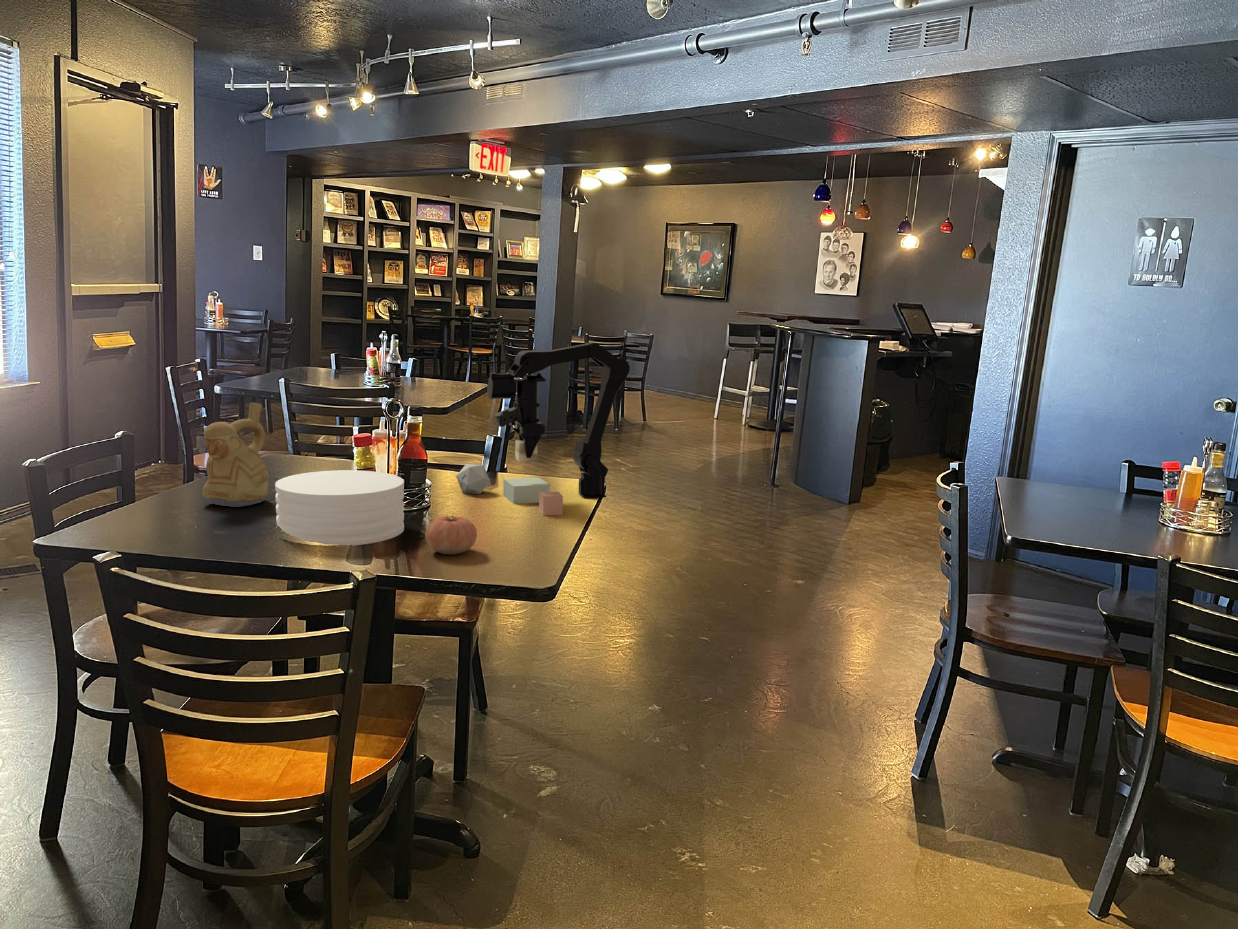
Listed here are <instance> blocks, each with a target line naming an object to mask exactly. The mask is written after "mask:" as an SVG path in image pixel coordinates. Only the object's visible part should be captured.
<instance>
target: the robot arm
mask: <svg viewBox="0 0 1238 929" xmlns="http://www.w3.org/2000/svg"><path fill="white" fill-rule="evenodd" d="M585 359H586V360H587V359H591V360H592V361H593V363H595V364H596V365H597V366H599V367H600V368H601V371H600V389H599V392H598V395H597V399H596V402H595V404H594V408H593V410H592V414H591V417H590V421H589V424H588V427H587V430H586V433H585V435H584V437H582V439H578V438H576V440H575V446H574V448H573V450H572V451H571V453H572V454H573V455H572V459H573V462H574V463H575V464H576V466H578V468H579V471H580V478H578V494H579V495H580V496H581V497H582V498H584V499H587V498H589V499H591V498H592V499H593V498H595V499H596V498H597V499H598V498H607V494H605V492H606V491H605V490H606V489H605V487H606V476H607V475H608V472H609V469H608V467H606V465H605V464H604V463H603V462H602V461H601V459H602V455H603V454H602V452H603V450H602V449H603V447H602V439H603V435H604V433H605V429H606V427H607V425H608V421H609V418H610V414H611V412H612V409H613V408H612V407H613V404H614V402H615V398H616V395H617V392H618V391H619V390H620V388H621V387H622V385H623V384H624V383H625V381H626V380H627V378H628V375H629V374H630V370H631V365H630V364H629V362H628V361H627V360H626V359H625V358H622V357H617V356H616V355H615V354H613V353H611V352H610V351H608V350H606V349H605V348H604V347H603V346H602V345H600V344H599V343H597V342H594V341H588V342H586V343H582V344H576V345H572V346H566V347H561V348H556V349H550V350H521V351H519V352H518V353H517V354H516V355H515V357H514V362H513V364H512V365H511V366H510V368H509V369H508V371H507V372H506V373H496V372H490V373H489V378H488V382H487V386H486V392H487V397H488V399H489V400H504V399H505V400H506V399H507V400H510V399H512V398H513V396H516V397H515V398H516V399H515V401H514V402H513V407H511V408H507V409H504V410H501V411H499V412H496V413H494V414H493V415H494V418H495V420H496V423H497V426H498V427H500V428H502V427H506V426H508V425H509V426H510V427H511V429H512V430H513V431H514V433H516V435H517V437H518V440H524V445H525V451H526V457H527V458H531V456H532V454H533V452H534V450H535V447H536V445H537V443H539V441H540V439H541V437H542V436H543V435H546V433H547V432H546V429H547V428H546V426H545V425H544V424H543V422H541V421H540V418H539V416H538V415H539V413H538V412H539V411H538V410H539V407H540V402H539V401H538V400H539V396H538V395H539V383H540V382H541V383H542V382H543V383H544V382H546V381H547V379H546V378H545V377H544V376H543V375H542V374H541V372H540V371H543V370H546V369H547V368H550V367H551V366H554V365H559V364H564V363H569V362H575V361H580V360H585Z"/></svg>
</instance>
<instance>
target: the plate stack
mask: <svg viewBox="0 0 1238 929" xmlns="http://www.w3.org/2000/svg"><path fill="white" fill-rule="evenodd" d="M274 487H275V488H274V489H275V491H276V493H275V503H276V505H275V513H276V516H275V519H276V520H275V522H276V526H279V527H280V528H281V529H282V531H284V532H286V533H287V534H290V535H291V536H295V537H297V538H301V539H300V540H305V541H309V542H318V543H323V544H338V545H352V546H359V545H368V544H375V543H379V542H382V541H383V542H384V541H387V540H390V539H393V538H396V537H397V536H400V535H401V534H402V533H404V531H405V524H404V520H405V512H404V509H405V502H404V498H405V491H404V490H403V489H404V487H405V481H404V479H403V478H402V477H400V476H398V475H395V474H392V473H386V472H382V471H373V470H372V471H371V470H355V469H353V470H352V469H349V470H348V469H344V470H342V469H341V470H339V469H337V470H322V471H320V470H319V471H310V472H302V473H296V474H292V475H289V476H286V477H285V476H284V477H283V478H280V479H278V480H276V482H275V483H274Z"/></svg>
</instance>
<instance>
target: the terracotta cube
mask: <svg viewBox="0 0 1238 929" xmlns="http://www.w3.org/2000/svg"><path fill="white" fill-rule="evenodd" d="M563 499H564V496H563V495H562V493H561V492H560V491H550V492H539V502H538V512H539V513H541V515H542V516H562V515H563V508H564V507H563V506H564V505H563V504H564V500H563Z"/></svg>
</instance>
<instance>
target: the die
mask: <svg viewBox="0 0 1238 929" xmlns="http://www.w3.org/2000/svg"><path fill="white" fill-rule="evenodd" d="M455 477H456V479H457V483H458V485H459V487H460V489H461V492H462V494H463V493H464V494H475V495H481V493H482V492H483V491H484V490H485V488H486V487H487V486H488V485H489V483H490V482H491V481H490V479H489V476H488V473H487V471H486V467H485V465H484V464H475V463H474V464H473V463H465V465H464V466H463V467H462V468H461V469H460V471H459V472H458V473H457V474H456V476H455Z"/></svg>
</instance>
